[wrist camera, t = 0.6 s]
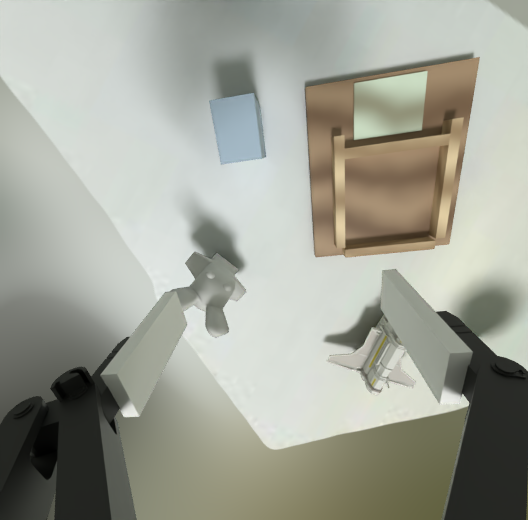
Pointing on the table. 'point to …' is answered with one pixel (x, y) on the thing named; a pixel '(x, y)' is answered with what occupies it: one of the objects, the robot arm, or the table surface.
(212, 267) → the bunny figurine
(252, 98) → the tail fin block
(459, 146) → the jig
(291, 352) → the table surface
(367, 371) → the toy spacecraft
